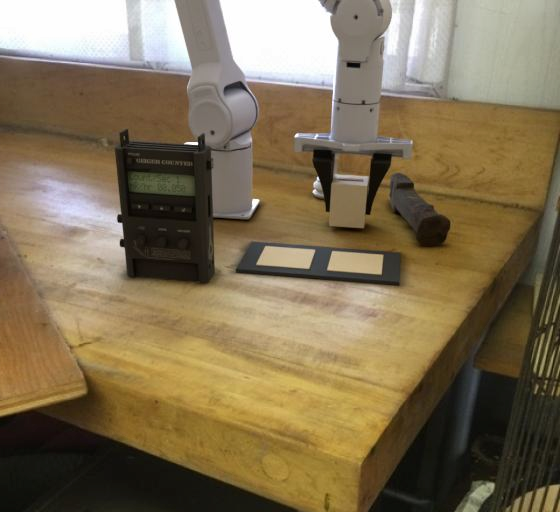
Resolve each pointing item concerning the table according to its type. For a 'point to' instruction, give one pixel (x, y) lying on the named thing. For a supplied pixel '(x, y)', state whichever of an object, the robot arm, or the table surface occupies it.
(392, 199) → the hand tool
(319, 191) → the rook chess piece
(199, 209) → the geiger counter
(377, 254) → the word mat
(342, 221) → the slotted ballot box
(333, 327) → the table surface
